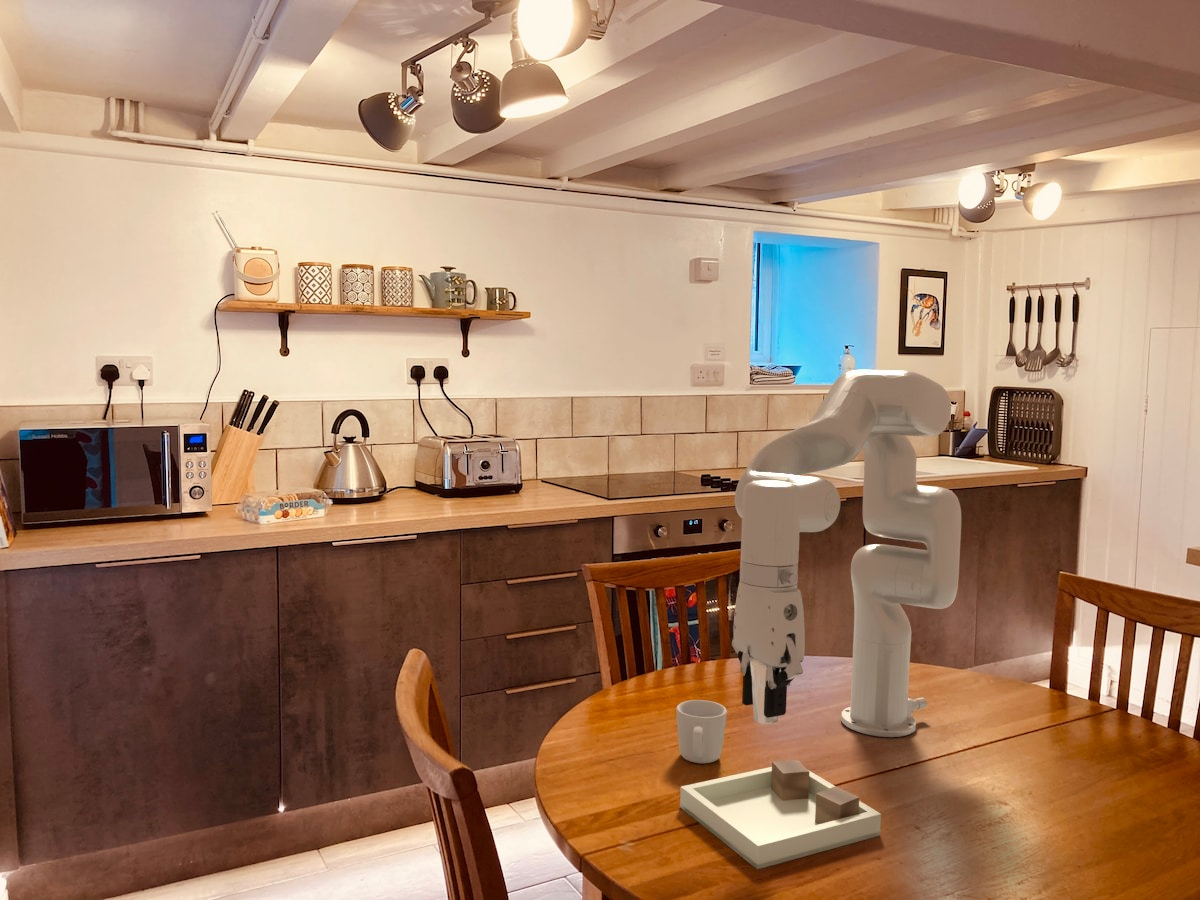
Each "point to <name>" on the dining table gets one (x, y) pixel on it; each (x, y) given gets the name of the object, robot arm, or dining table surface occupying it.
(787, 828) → the tray
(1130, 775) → the dining table surface
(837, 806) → the walnut block
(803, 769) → the walnut block
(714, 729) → the cup
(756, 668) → the milkshake
